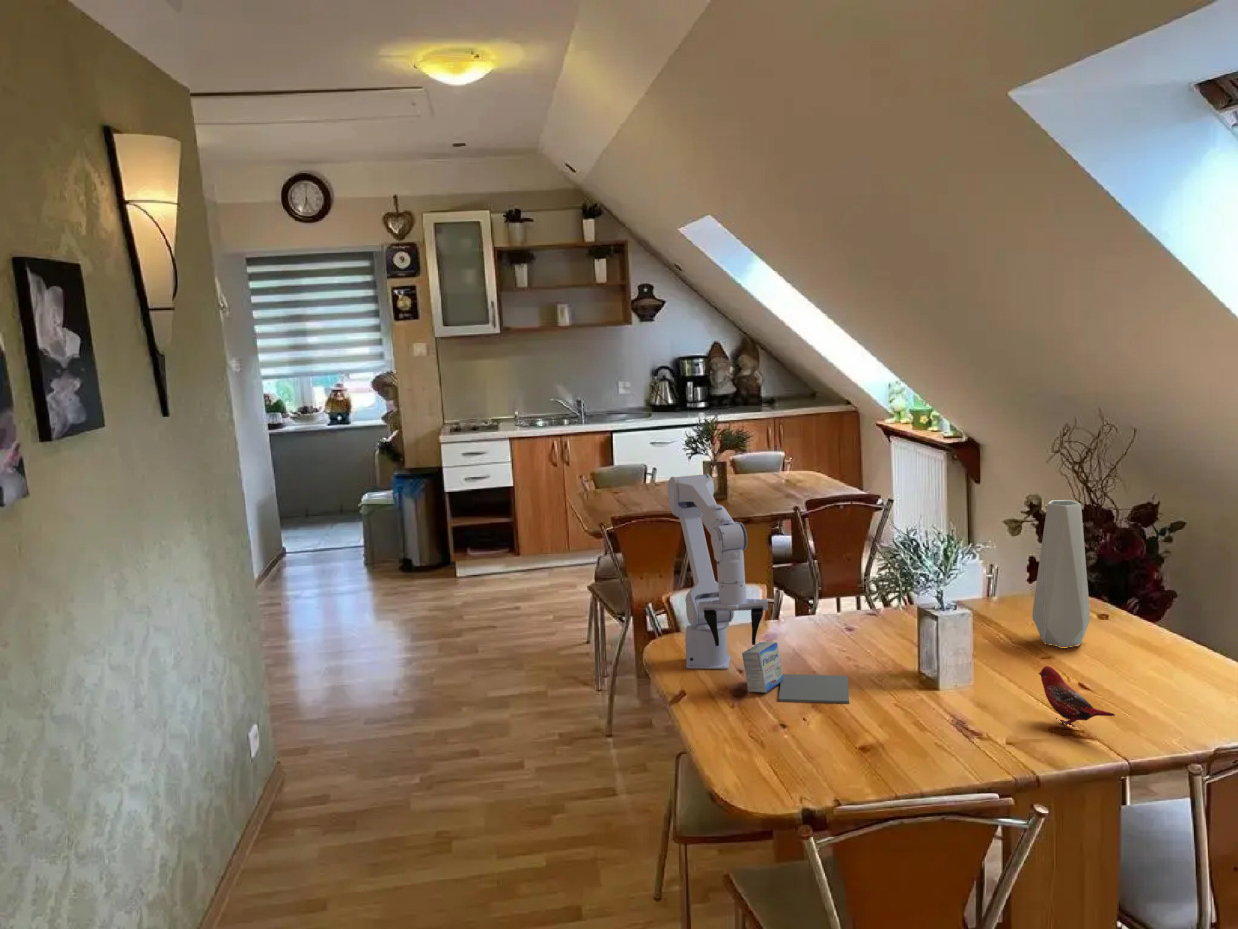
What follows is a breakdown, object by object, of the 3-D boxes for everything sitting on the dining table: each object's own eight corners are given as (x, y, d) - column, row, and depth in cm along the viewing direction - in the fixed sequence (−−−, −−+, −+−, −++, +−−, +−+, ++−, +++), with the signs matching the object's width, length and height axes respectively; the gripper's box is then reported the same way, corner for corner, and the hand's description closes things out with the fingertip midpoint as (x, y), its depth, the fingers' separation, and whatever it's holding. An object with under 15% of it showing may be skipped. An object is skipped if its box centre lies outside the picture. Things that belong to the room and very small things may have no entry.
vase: (1038, 631, 229) (1039, 496, 225) (1091, 639, 223) (1094, 499, 218) (1025, 647, 220) (1026, 505, 215) (1081, 655, 213) (1083, 509, 208)
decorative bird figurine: (1044, 710, 185) (1044, 661, 184) (1120, 746, 169) (1121, 692, 167) (1032, 713, 184) (1032, 663, 183) (1108, 750, 168) (1109, 695, 166)
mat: (778, 701, 196) (778, 699, 196) (781, 676, 210) (781, 674, 210) (849, 703, 193) (849, 701, 193) (847, 677, 207) (847, 675, 207)
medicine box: (766, 693, 199) (759, 652, 199) (747, 692, 202) (741, 652, 202) (784, 681, 206) (777, 641, 205) (765, 680, 208) (759, 641, 208)
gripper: (696, 586, 200) (700, 650, 201) (766, 583, 198) (770, 648, 199) (698, 579, 207) (702, 641, 208) (766, 576, 205) (769, 639, 206)
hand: (735, 644), depth 204 cm, fingers open, 7 cm apart
